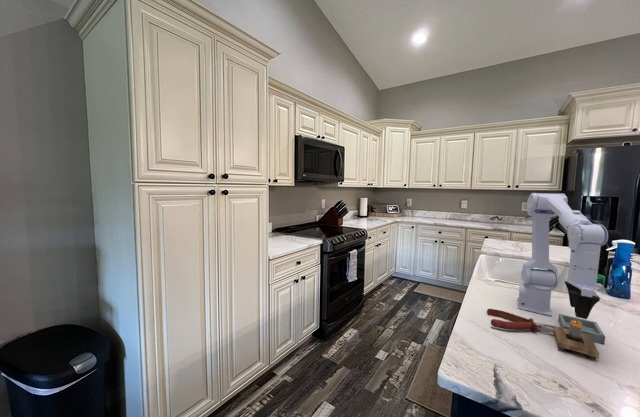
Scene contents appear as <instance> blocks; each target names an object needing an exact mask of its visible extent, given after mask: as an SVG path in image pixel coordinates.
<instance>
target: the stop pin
mask: <svg viewBox="0 0 640 417" xmlns="http://www.w3.org/2000/svg"><path fill="white" fill-rule="evenodd" d="M581 330H582V323H581V322H580V321H578V320H575V319H574V320H571V321H570V330H569V338H568V339H569V340H573V341H576V342H580V343H581V341H580V339H581Z"/></svg>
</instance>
